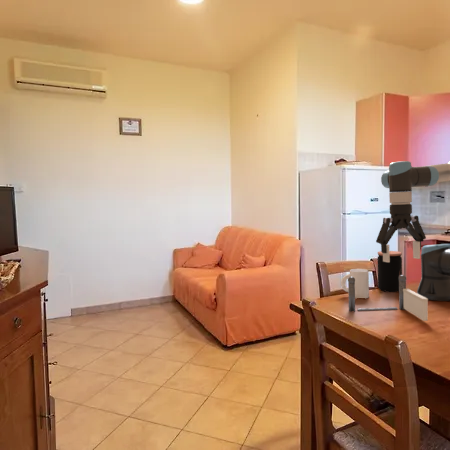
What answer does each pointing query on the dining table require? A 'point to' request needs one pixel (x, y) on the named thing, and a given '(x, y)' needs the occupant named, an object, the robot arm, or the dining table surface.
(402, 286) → the posts and sill
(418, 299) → the gate
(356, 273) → the mug
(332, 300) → the dining table surface
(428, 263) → the robot arm
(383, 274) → the coffee jar
